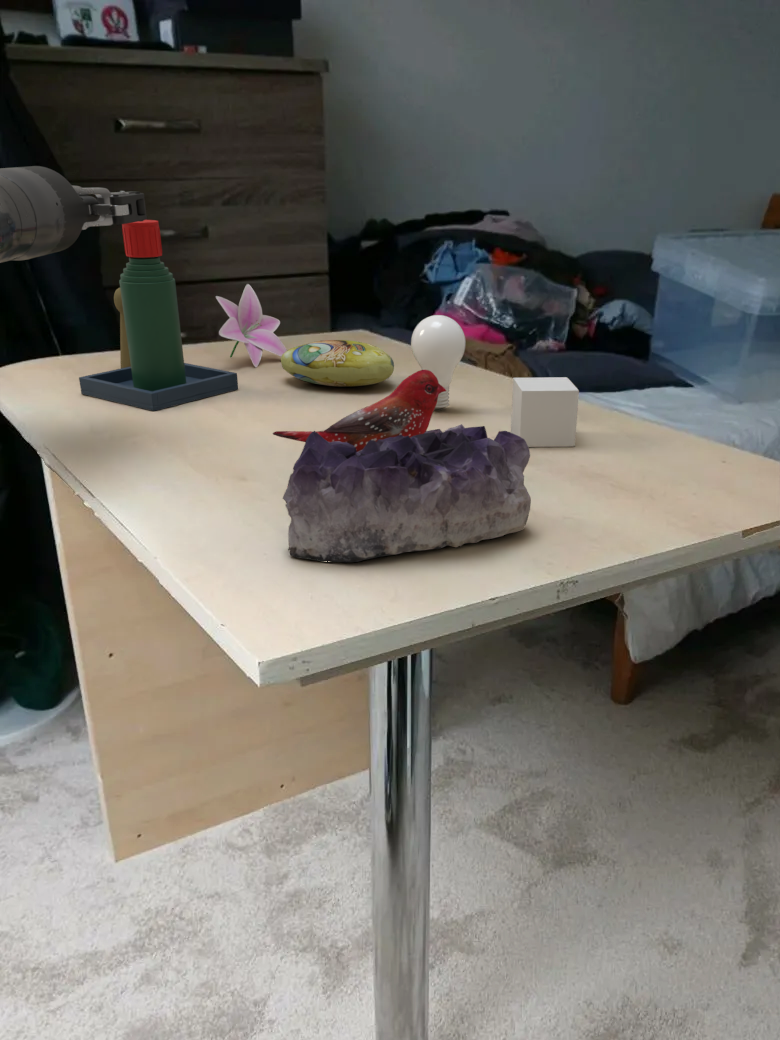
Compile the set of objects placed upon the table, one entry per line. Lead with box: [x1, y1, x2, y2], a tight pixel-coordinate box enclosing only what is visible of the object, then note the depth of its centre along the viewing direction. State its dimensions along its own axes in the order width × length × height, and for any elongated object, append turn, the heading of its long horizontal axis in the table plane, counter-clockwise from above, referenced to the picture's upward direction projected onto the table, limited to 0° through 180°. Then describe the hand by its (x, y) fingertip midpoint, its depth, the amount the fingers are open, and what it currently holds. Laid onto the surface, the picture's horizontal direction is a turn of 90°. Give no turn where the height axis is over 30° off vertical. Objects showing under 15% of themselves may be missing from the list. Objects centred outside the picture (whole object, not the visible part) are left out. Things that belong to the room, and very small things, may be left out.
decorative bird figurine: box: [272, 369, 446, 452], centre depth 86 cm, size 3×18×10 cm, turn 122°
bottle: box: [118, 256, 186, 392], centre depth 114 cm, size 6×6×19 cm
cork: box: [113, 287, 131, 369], centre depth 128 cm, size 6×6×11 cm
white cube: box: [510, 376, 580, 448], centre depth 101 cm, size 6×6×6 cm
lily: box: [215, 283, 288, 368], centre depth 135 cm, size 12×12×10 cm
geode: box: [282, 423, 532, 563], centre depth 75 cm, size 20×12×10 cm, turn 119°
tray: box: [78, 362, 239, 412], centre depth 119 cm, size 14×14×2 cm
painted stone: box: [280, 339, 395, 388], centre depth 123 cm, size 11×8×15 cm
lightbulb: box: [410, 314, 467, 412], centre depth 110 cm, size 6×6×11 cm
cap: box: [121, 219, 163, 258], centre depth 111 cm, size 4×4×4 cm
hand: (96, 201), depth 99 cm, fingers open, 8 cm apart
